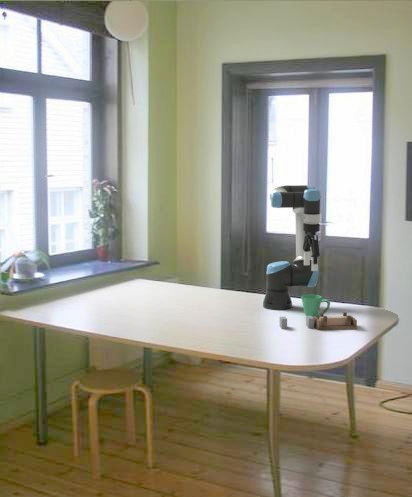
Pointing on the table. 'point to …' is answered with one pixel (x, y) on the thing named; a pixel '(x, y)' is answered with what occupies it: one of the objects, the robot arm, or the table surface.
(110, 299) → the table surface
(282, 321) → the grey blocks
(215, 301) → the table surface
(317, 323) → the rack
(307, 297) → the mug
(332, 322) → the clay strip
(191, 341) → the table surface
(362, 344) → the table surface
